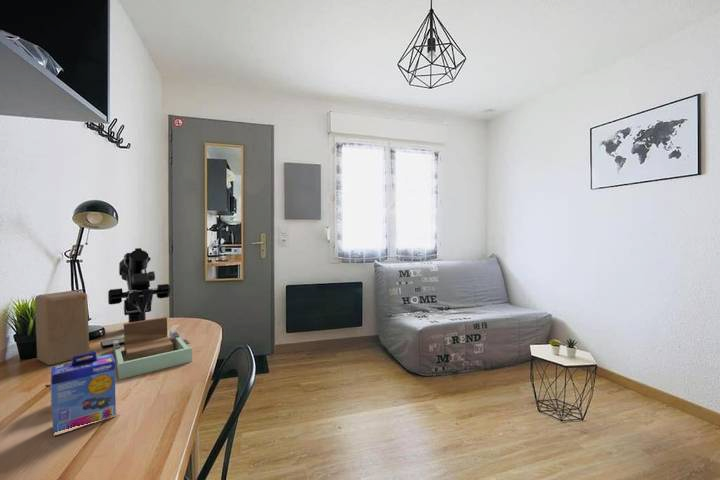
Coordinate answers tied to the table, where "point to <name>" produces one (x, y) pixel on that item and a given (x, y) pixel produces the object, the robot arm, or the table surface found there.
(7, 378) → the table surface
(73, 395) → the ink cartridge box
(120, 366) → the pale green tray
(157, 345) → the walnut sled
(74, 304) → the wooden block
